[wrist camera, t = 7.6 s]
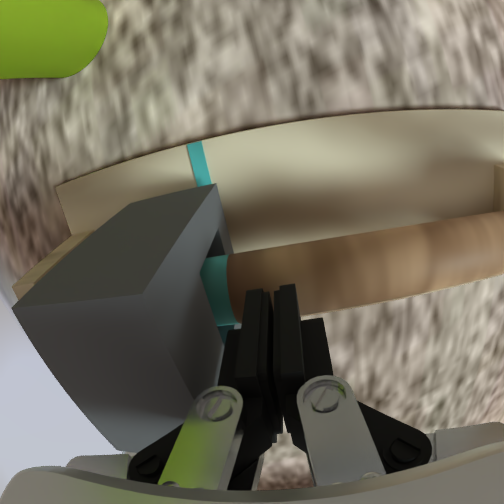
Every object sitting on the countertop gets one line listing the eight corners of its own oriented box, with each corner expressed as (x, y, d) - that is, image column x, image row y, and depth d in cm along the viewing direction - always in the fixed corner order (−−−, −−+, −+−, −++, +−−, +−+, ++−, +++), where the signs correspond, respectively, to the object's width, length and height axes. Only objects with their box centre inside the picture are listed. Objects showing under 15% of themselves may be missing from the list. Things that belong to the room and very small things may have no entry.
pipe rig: (497, 269, 19) (550, 326, 12) (121, 328, 23) (82, 398, 16) (504, 110, 14) (584, 128, 7) (61, 183, 18) (-15, 226, 11)
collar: (247, 307, 19) (229, 459, 10) (171, 315, 19) (117, 450, 10) (216, 183, 16) (142, 294, 7) (130, 203, 16) (11, 308, 7)
